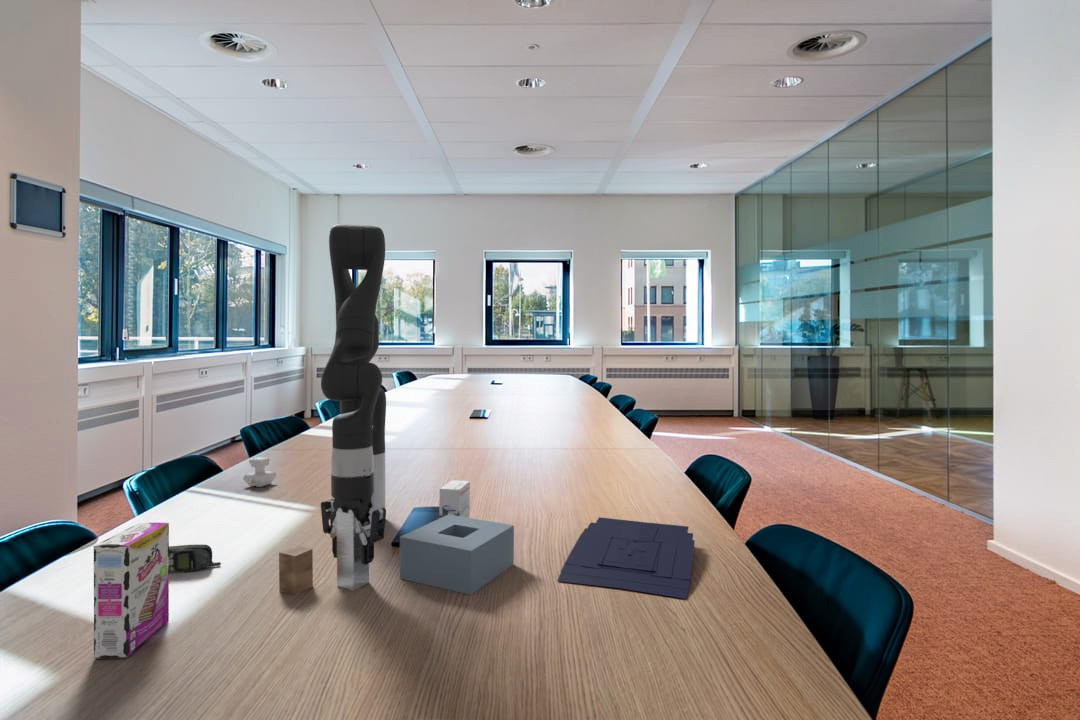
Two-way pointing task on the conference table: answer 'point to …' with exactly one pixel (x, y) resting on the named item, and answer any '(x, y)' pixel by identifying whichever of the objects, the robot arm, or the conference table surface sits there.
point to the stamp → (259, 473)
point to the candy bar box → (130, 589)
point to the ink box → (455, 499)
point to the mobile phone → (190, 558)
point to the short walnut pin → (295, 569)
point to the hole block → (457, 553)
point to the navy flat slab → (632, 557)
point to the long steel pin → (349, 554)
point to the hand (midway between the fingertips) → (353, 559)
